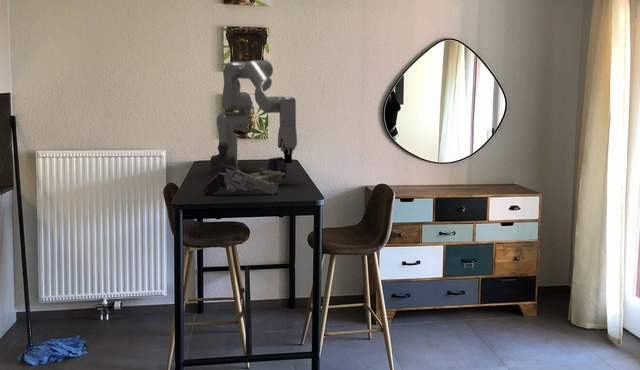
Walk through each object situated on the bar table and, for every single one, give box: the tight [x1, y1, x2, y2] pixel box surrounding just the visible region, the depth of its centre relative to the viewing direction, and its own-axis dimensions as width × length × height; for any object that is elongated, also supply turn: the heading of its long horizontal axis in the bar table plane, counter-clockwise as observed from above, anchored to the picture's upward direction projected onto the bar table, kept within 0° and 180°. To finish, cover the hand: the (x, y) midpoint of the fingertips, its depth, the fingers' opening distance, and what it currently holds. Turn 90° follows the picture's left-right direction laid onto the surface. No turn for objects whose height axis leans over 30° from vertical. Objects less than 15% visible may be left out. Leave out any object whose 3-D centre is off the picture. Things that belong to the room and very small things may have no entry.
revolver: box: [203, 167, 279, 196], centre depth 294 cm, size 4×29×15 cm, turn 95°
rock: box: [266, 156, 288, 178], centre depth 345 cm, size 10×6×10 cm, turn 142°
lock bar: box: [258, 162, 288, 175], centre depth 321 cm, size 15×3×6 cm, turn 59°
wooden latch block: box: [227, 171, 283, 192], centre depth 317 cm, size 14×26×5 cm, turn 149°
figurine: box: [209, 142, 236, 177], centre depth 320 cm, size 12×8×20 cm, turn 92°
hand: (288, 162), depth 322 cm, fingers closed
